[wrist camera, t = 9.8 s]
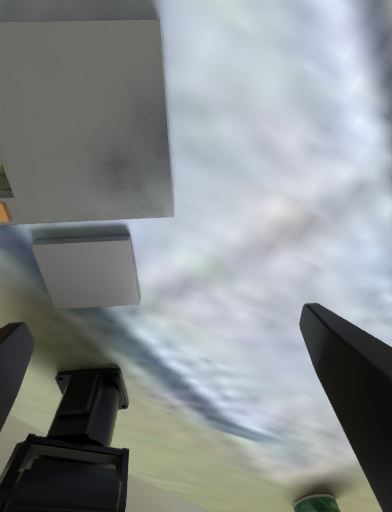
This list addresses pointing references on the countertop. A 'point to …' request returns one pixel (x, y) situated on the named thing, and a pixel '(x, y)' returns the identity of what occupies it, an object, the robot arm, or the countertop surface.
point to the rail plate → (84, 122)
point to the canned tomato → (316, 504)
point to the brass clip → (1, 167)
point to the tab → (88, 271)
